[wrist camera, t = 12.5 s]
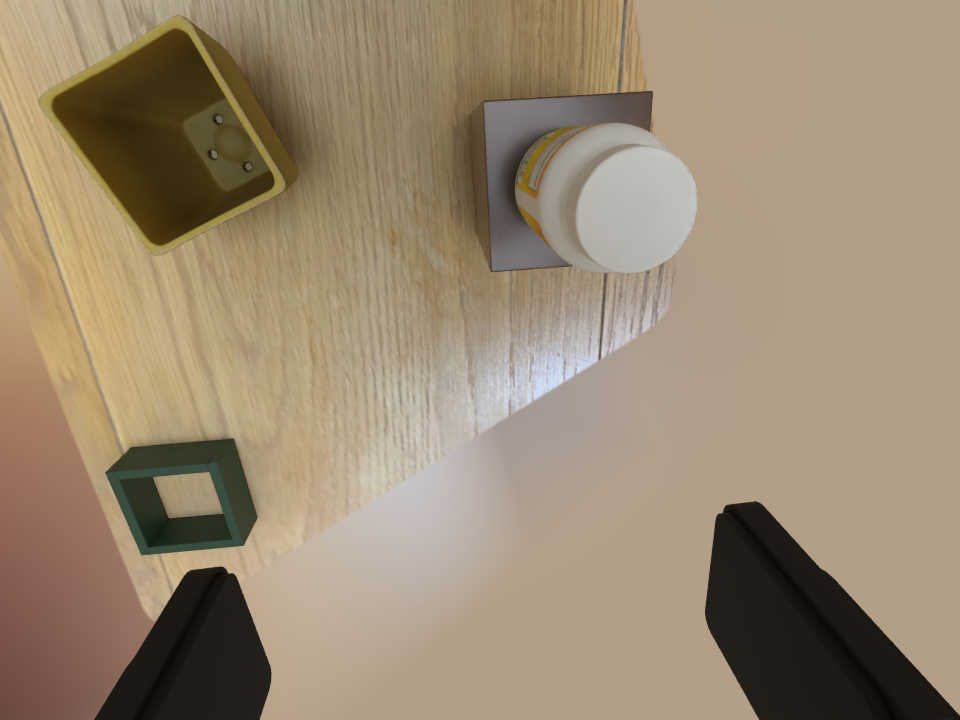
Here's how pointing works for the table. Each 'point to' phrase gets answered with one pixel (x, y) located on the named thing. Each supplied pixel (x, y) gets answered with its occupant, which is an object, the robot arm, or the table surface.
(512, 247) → the display block
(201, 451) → the open square frame
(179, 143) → the flower pot
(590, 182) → the supplement bottle
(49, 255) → the table surface
